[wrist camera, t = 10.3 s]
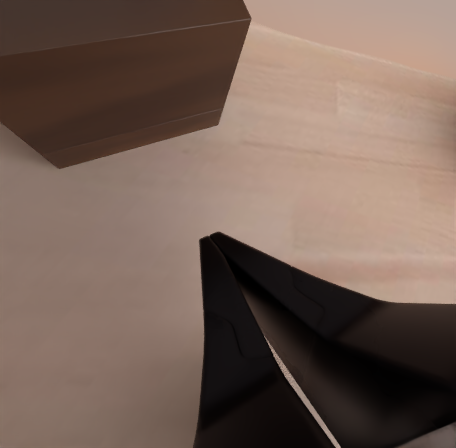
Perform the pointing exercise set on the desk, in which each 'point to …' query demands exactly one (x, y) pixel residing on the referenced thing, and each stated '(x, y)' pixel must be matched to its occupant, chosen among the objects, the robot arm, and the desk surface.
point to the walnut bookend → (115, 71)
